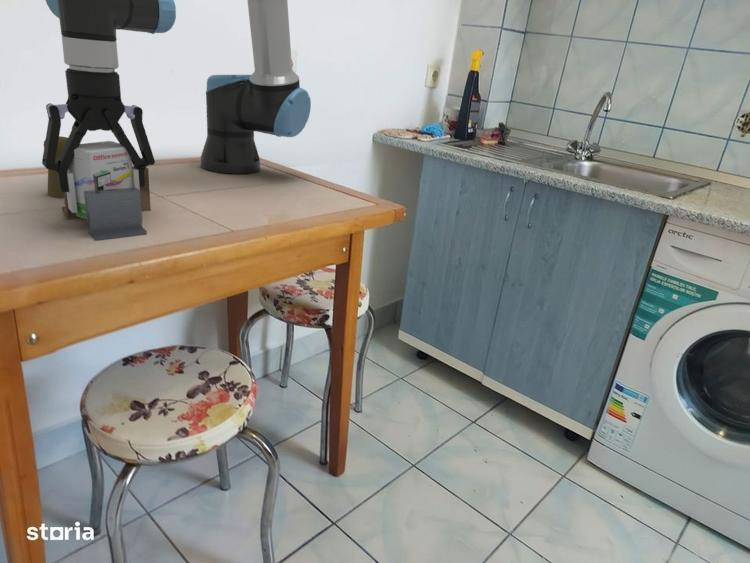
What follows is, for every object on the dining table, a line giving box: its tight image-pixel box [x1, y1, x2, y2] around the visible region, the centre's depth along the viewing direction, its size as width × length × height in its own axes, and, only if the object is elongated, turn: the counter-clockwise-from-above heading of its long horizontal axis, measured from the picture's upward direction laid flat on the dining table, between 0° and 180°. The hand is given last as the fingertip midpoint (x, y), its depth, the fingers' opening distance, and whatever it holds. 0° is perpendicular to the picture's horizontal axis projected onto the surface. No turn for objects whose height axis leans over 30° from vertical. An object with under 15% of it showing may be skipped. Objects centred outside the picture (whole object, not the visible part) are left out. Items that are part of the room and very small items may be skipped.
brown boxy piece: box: [61, 167, 152, 219], centre depth 98 cm, size 14×4×8 cm, turn 130°
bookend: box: [84, 188, 148, 241], centre depth 88 cm, size 8×4×7 cm, turn 130°
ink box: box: [70, 140, 133, 220], centre depth 91 cm, size 8×5×12 cm, turn 155°
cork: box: [43, 135, 70, 199], centre depth 104 cm, size 6×6×11 cm
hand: (105, 207), depth 93 cm, fingers closed on ink box, 9 cm apart
